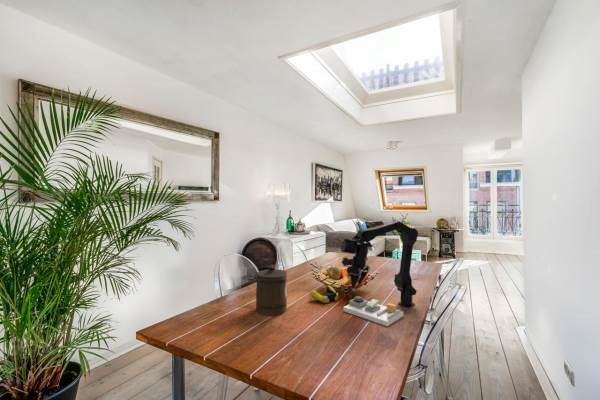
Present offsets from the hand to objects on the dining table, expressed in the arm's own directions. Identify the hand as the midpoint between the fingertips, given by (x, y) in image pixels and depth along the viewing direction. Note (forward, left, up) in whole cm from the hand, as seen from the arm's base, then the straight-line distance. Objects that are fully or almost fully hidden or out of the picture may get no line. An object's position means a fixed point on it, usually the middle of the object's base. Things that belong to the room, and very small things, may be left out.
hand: (356, 286), depth 140 cm
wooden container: (+30, -29, -12) cm, 43 cm away
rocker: (-2, +8, -6) cm, 11 cm away
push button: (-2, 0, -8) cm, 8 cm away
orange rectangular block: (-5, +16, -9) cm, 19 cm away
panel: (-2, +8, -11) cm, 14 cm away
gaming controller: (0, -19, -12) cm, 23 cm away
